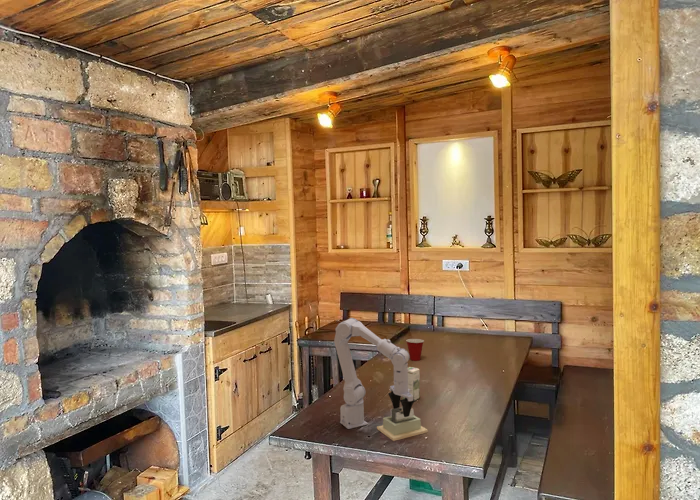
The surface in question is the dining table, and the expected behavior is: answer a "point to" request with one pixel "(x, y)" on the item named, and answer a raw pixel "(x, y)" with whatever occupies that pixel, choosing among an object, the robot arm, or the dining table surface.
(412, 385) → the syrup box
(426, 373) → the dining table surface
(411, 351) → the plastic cup
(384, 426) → the well
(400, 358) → the robot arm
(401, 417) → the bracket
